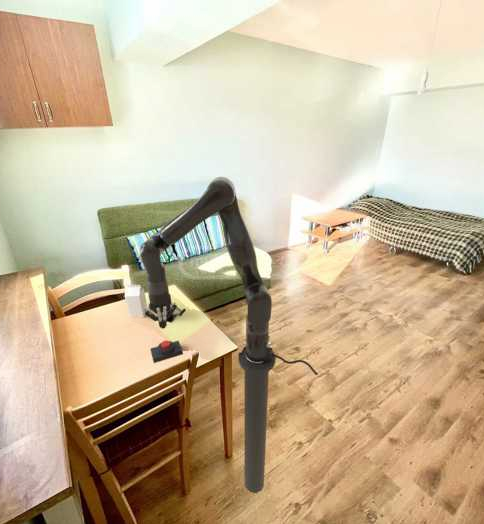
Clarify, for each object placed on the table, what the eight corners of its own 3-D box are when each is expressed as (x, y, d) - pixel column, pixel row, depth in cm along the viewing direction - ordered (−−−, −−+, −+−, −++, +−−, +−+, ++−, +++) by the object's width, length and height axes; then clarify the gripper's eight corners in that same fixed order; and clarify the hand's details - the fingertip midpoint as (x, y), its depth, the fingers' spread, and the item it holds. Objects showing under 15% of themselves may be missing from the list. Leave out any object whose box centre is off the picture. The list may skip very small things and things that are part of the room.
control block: (178, 344, 122) (178, 337, 120) (183, 354, 116) (182, 346, 114) (150, 352, 117) (149, 345, 116) (153, 363, 111) (152, 355, 110)
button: (169, 342, 117) (168, 339, 117) (171, 347, 114) (170, 344, 114) (160, 345, 116) (160, 341, 115) (162, 350, 113) (162, 347, 112)
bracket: (179, 315, 143) (177, 293, 138) (171, 324, 136) (168, 301, 131) (162, 312, 146) (159, 290, 141) (153, 320, 139) (150, 298, 134)
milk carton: (144, 320, 139) (137, 288, 130) (130, 320, 139) (122, 289, 130) (148, 311, 145) (142, 281, 136) (134, 312, 145) (127, 281, 136)
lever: (184, 312, 139) (186, 309, 138) (179, 317, 134) (181, 314, 133) (163, 296, 139) (165, 293, 138) (158, 301, 135) (160, 298, 134)
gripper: (141, 297, 99) (147, 337, 106) (177, 290, 104) (181, 328, 111) (138, 288, 105) (144, 326, 112) (173, 281, 110) (177, 318, 117)
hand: (163, 327), depth 111 cm, fingers closed
